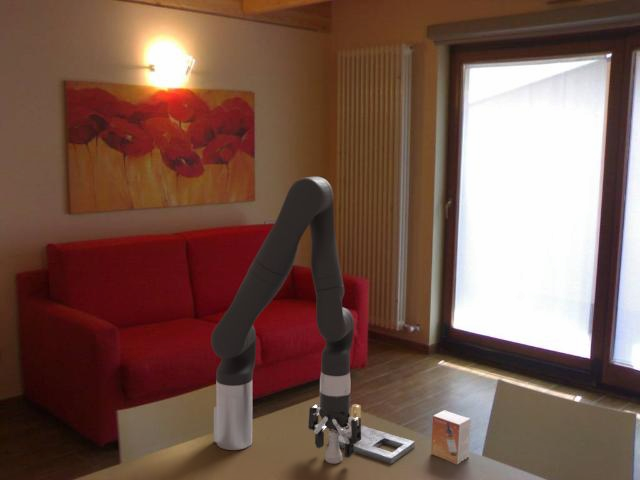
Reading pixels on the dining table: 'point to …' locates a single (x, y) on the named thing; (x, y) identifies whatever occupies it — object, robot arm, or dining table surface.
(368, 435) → the bolt plate
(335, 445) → the rook chess piece
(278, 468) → the dining table surface
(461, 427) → the small box
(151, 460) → the dining table surface
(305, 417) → the dining table surface
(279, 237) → the robot arm
